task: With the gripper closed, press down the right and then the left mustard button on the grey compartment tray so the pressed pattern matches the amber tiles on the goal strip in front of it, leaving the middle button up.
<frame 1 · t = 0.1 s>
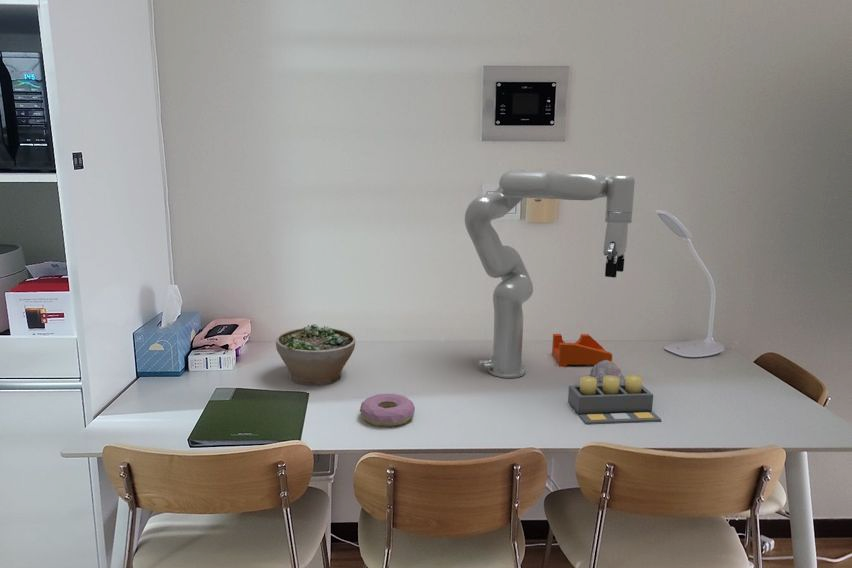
hand: (614, 273, 202), 37 cm above the table, tool pointing down, fingers open, 9 cm apart
button right: (633, 385, 196), point 7 cm above the table, slide at 0.0 cm
stone: (607, 384, 216), on the table
donut: (387, 418, 188), on the table
tape dispenser: (580, 362, 237), on the table
planter: (316, 378, 217), on the table
button left: (588, 386, 194), point 7 cm above the table, slide at 0.0 cm
goal strip: (620, 419, 189), on the table
grey compartment tray: (609, 407, 197), on the table
button mid: (610, 386, 195), point 7 cm above the table, slide at 0.0 cm
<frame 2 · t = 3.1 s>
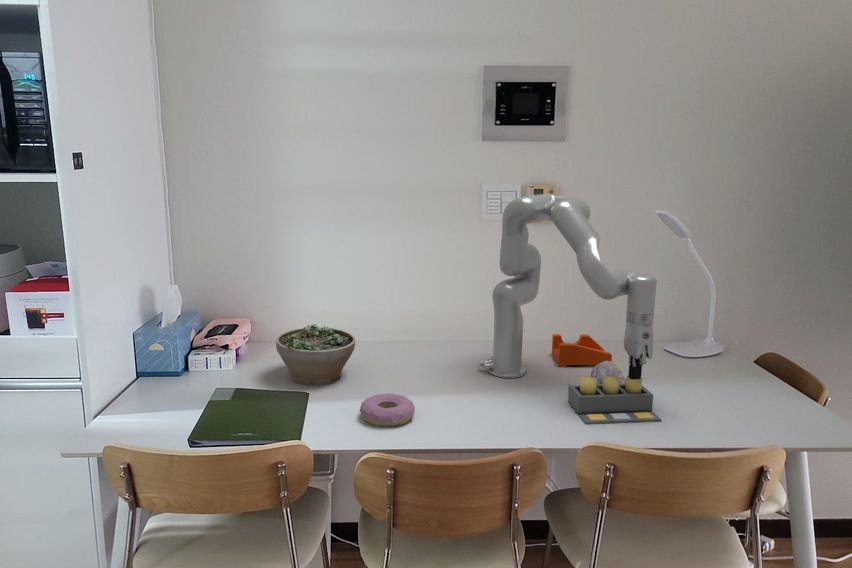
hand: (634, 378, 195), 9 cm above the table, tool pointing down, fingers closed
button right: (633, 386, 196), point 6 cm above the table, slide at 0.3 cm, touching gripper
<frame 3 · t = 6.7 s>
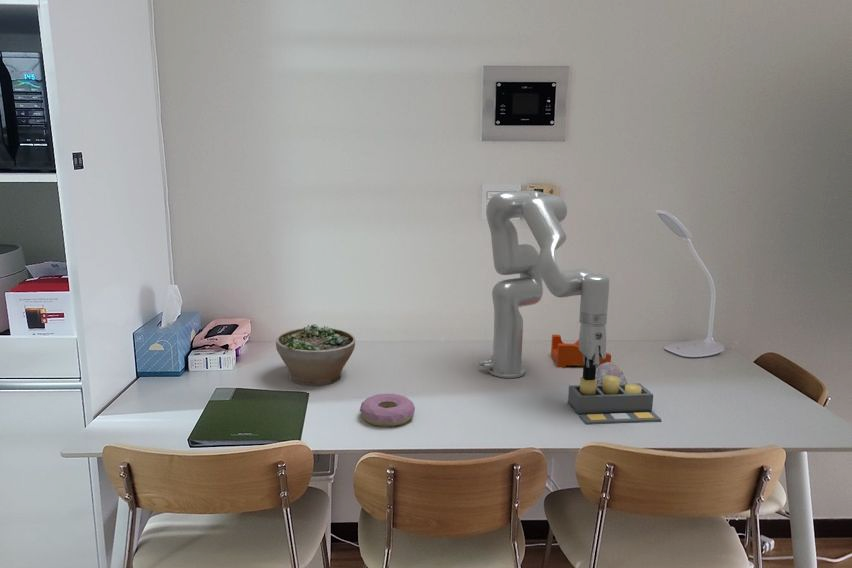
hand: (588, 379, 194), 9 cm above the table, tool pointing down, fingers closed
button right: (632, 394, 196), point 4 cm above the table, slide at 2.9 cm
button left: (588, 387, 194), point 7 cm above the table, slide at 0.1 cm, touching gripper
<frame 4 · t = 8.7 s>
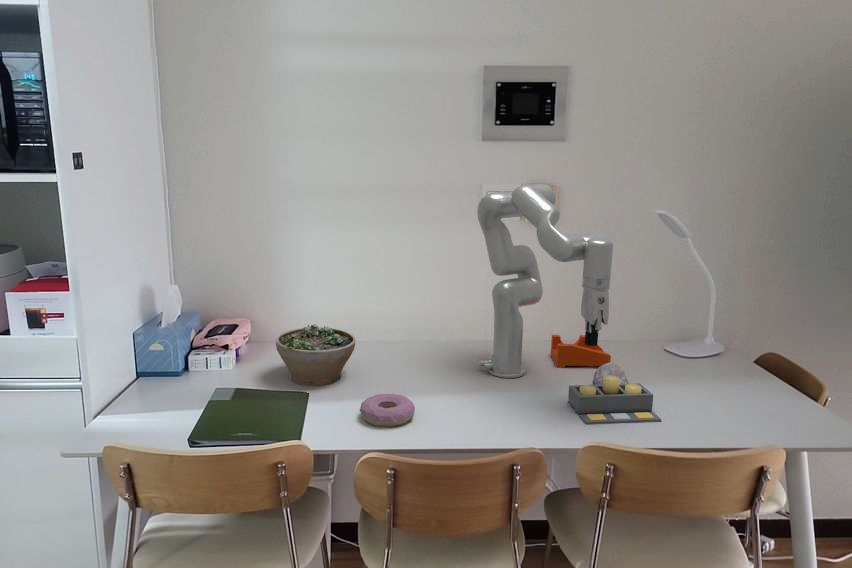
hand: (590, 344, 192), 19 cm above the table, tool pointing down, fingers closed
button left: (587, 396, 195), point 4 cm above the table, slide at 2.9 cm
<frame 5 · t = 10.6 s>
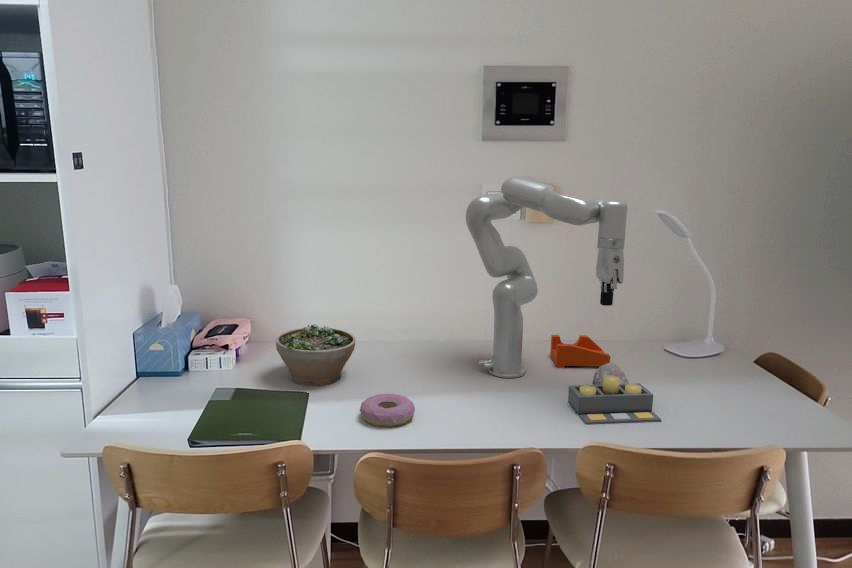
hand: (606, 304, 198), 29 cm above the table, tool pointing down, fingers closed
at the end: button right slide at 2.9 cm; button left slide at 2.9 cm; button mid slide at 0.0 cm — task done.
